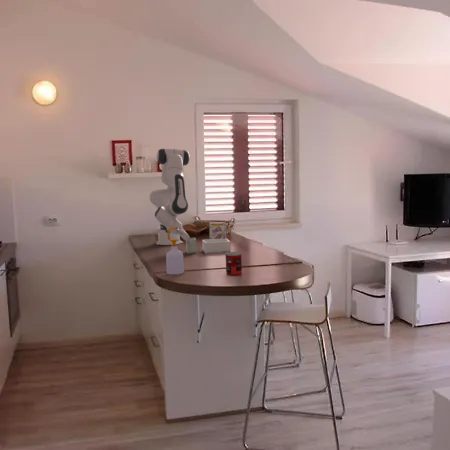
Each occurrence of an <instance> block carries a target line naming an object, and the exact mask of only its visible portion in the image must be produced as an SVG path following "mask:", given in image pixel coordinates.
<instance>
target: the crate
mask: <svg viewBox="0 0 450 450" xmlns="http://www.w3.org/2000/svg"><path fill="white" fill-rule="evenodd" d="M201 242H202V243H201V244H202V247H201V248H202V251H203V253H204V255H209V254H226V253H228V252H232V251H231V240H229V239H228V238H227V237H226V238H225V239H202V241H201Z"/></svg>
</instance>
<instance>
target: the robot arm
mask: <svg viewBox="0 0 450 450" xmlns="http://www.w3.org/2000/svg"><path fill="white" fill-rule="evenodd" d="M190 158H191V157H190V153H189V151H188V150H187V149H186V150H185V149H178V148H160V149H159V150H158V151H157V153H156V161H157V163H159V165H162V169H161V177H160V179H161V182H162V183H163V184H164V185H165V186H167V188H162V189H161V188H160V189H155V190H151V192H150V194H149V201H150V203H151V204H152V205H153V206H155V207H156V211H155V212H154V217H155V219H156V221H158V222H159V223H160V224H159V225H160V226H159V228H160V231H158V234H157V240H158V241H156V245H161V246H171V245H173V244H172V242H171V241H170V240H168V232H167V231H168V229H169V228H172V227H175V226H176V227H177V228H175V229H173V230H171V231H170V239H178V240H179V241H177V242H176V245H179V244H183V243H184V242H183V241H182V240H181V238H182V239H183V240H184V241H185V242H186V241H189V242H190V243H191V244H192V243H193V241H192V240H191V239H190V238H191V237H190V235H189V234H188V233H187V232H186V230H185V229H184V227H183V223H182V222H181V221H180V220H178V219H177V217H178V216H180V215H182V214H185V213H186V212H187V210H188V208H189V203H188V200H187V198H186V188H185V179H184V166H185V167H186V166H187V165H189V162H190Z"/></svg>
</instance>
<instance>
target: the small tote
mask: <svg viewBox="0 0 450 450" xmlns="http://www.w3.org/2000/svg"><path fill="white" fill-rule="evenodd" d="M190 239H191V240H192V241H193V243H192V244H191V243H190V242H189V241H185V252H186V254H187V255H188V254H189V255H190V254H197V251H198V250H197V239H196V237H190Z"/></svg>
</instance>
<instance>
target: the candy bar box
mask: <svg viewBox="0 0 450 450" xmlns="http://www.w3.org/2000/svg"><path fill="white" fill-rule="evenodd" d="M208 229H209V230H208V232H209V233H208V234H209V239H225V238H227V222H224V221H223V222H222V221H221V222H219V221H218V222H213V221H212V222H211V221H210V222H209V224H208Z"/></svg>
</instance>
